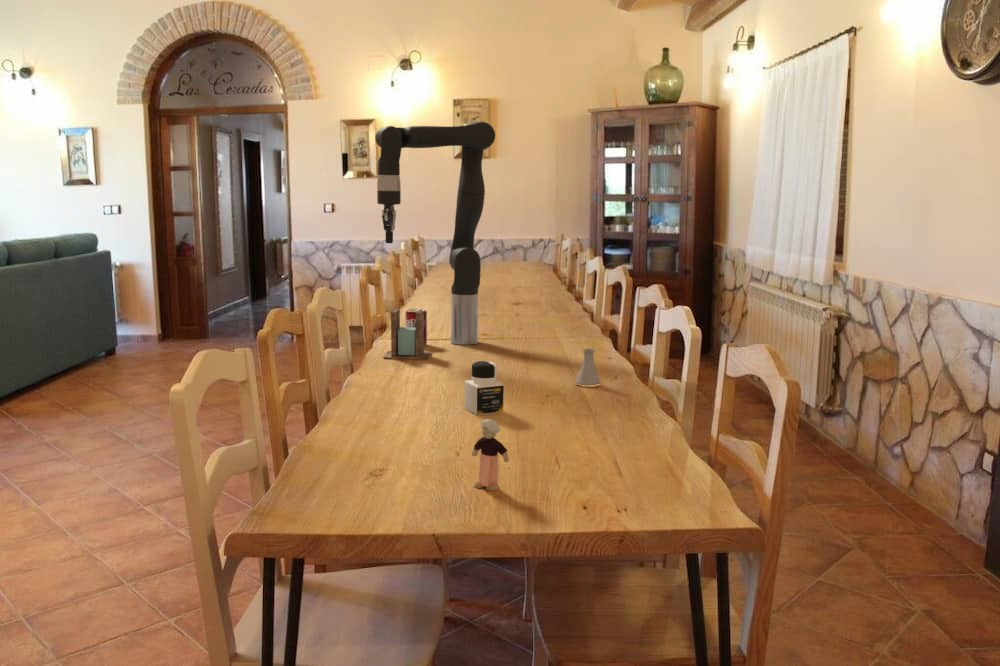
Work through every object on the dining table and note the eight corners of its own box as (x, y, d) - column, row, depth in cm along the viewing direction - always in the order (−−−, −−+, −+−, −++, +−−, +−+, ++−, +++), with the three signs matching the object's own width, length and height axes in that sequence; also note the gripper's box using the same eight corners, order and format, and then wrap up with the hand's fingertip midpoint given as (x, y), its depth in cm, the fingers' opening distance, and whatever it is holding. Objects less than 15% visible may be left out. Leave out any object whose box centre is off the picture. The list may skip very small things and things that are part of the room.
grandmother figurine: (465, 488, 151) (465, 419, 149) (473, 481, 154) (474, 414, 152) (505, 494, 148) (506, 424, 146) (513, 487, 151) (514, 418, 149)
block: (417, 352, 271) (417, 327, 270) (415, 355, 266) (414, 330, 264) (400, 351, 271) (400, 327, 270) (397, 354, 266) (397, 329, 264)
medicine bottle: (477, 416, 199) (477, 366, 197) (464, 409, 205) (464, 360, 203) (503, 412, 202) (504, 363, 200) (490, 406, 208) (490, 358, 206)
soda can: (425, 347, 285) (425, 311, 283) (404, 346, 285) (404, 311, 283) (427, 343, 292) (427, 308, 290) (407, 342, 292) (406, 308, 290)
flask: (604, 384, 234) (605, 348, 232) (596, 389, 227) (597, 353, 226) (579, 381, 237) (580, 346, 235) (570, 386, 230) (572, 350, 229)
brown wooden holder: (431, 353, 273) (431, 309, 271) (427, 359, 263) (427, 313, 261) (388, 352, 274) (388, 308, 271) (383, 358, 264) (382, 312, 261)
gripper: (397, 189, 267) (397, 244, 270) (403, 189, 280) (403, 242, 283) (373, 189, 267) (374, 244, 270) (380, 189, 280) (381, 241, 283)
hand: (389, 243), depth 277 cm, fingers closed
